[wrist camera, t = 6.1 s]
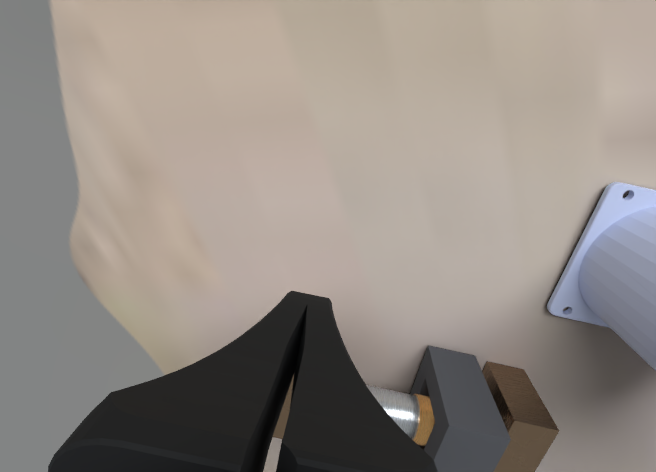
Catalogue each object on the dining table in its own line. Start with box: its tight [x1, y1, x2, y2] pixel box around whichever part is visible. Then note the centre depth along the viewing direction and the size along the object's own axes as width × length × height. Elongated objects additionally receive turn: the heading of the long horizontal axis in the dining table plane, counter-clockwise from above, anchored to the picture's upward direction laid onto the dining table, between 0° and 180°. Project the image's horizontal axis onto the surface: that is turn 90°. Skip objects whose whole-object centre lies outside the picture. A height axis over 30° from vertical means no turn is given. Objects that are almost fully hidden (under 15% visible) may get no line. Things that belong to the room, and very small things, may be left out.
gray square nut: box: [410, 345, 511, 472], centre depth 22 cm, size 3×6×6 cm, turn 169°
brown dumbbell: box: [272, 362, 559, 472], centre depth 22 cm, size 15×5×5 cm, turn 79°
